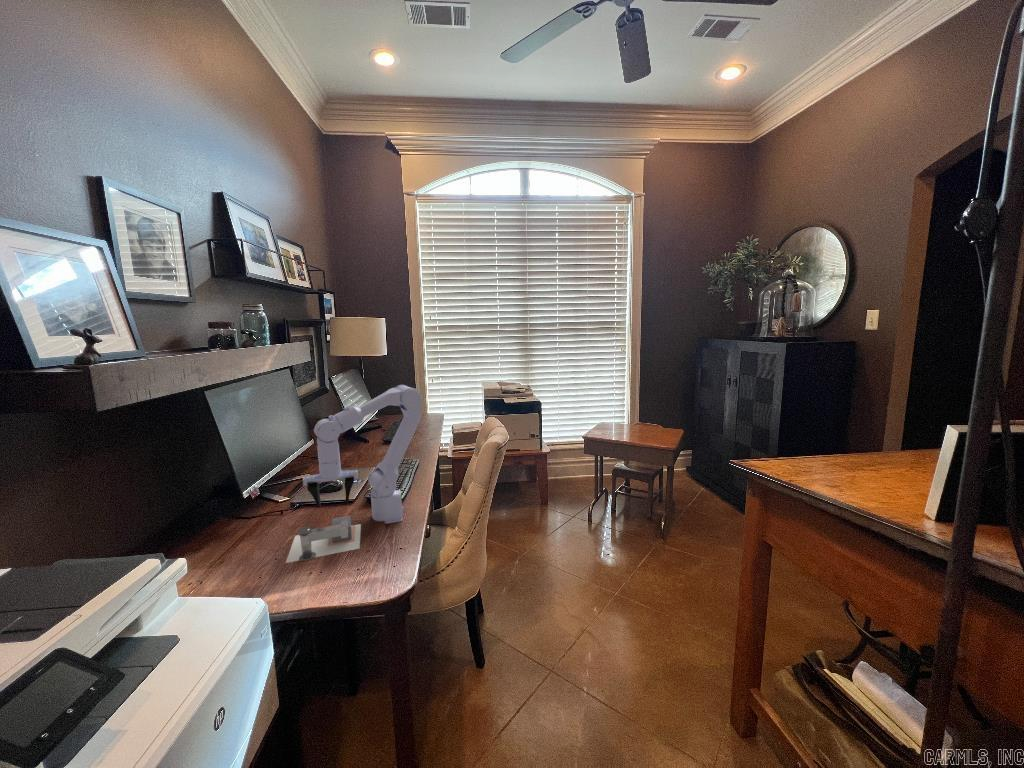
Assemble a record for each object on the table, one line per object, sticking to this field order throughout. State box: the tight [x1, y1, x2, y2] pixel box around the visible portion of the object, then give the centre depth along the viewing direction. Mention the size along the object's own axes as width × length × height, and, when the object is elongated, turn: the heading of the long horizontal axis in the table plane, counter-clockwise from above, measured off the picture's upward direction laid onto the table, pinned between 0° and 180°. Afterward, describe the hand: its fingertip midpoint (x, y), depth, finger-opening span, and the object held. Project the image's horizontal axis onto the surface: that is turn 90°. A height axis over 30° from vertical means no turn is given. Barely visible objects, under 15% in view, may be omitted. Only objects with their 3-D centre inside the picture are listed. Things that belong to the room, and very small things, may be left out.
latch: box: [297, 520, 348, 558], centre depth 103 cm, size 5×12×8 cm, turn 111°
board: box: [285, 523, 362, 564], centre depth 108 cm, size 18×15×1 cm
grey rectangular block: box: [331, 515, 352, 543], centre depth 112 cm, size 5×7×4 cm
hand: (333, 503), depth 114 cm, fingers open, 7 cm apart
